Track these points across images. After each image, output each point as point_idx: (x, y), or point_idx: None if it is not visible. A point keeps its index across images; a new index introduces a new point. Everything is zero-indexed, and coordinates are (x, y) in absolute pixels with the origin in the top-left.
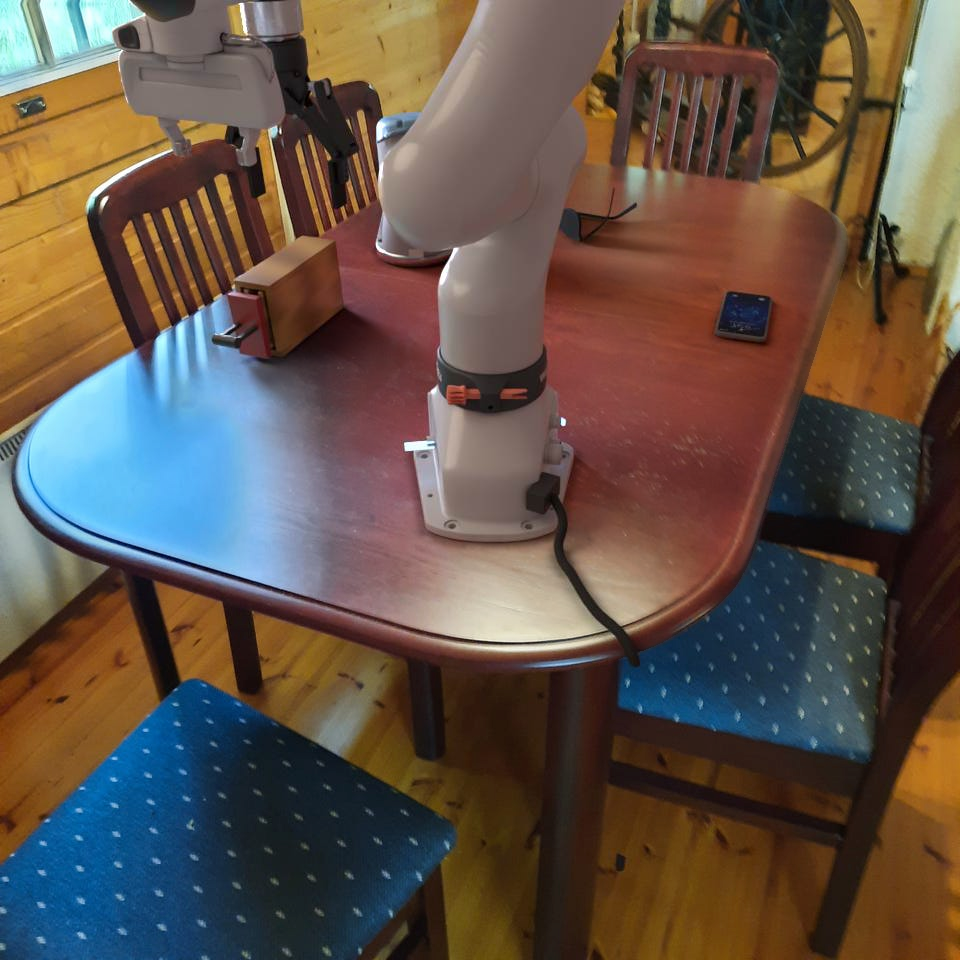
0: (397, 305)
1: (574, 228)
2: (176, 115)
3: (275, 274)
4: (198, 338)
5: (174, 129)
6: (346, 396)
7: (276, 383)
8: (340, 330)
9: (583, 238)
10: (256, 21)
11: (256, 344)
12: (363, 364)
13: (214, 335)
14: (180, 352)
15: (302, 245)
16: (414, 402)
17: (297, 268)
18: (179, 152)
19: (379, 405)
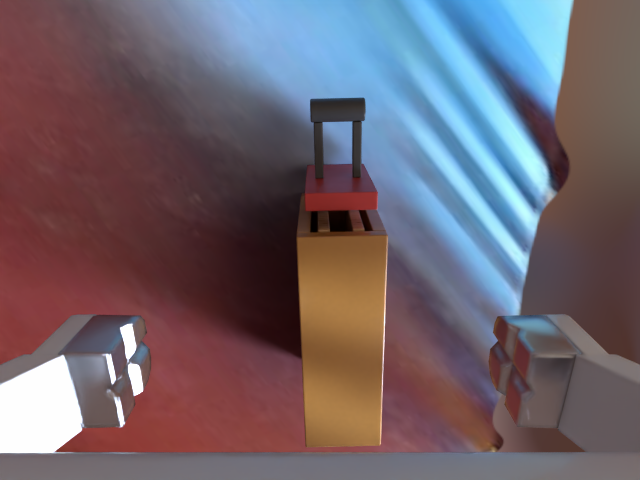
0: (235, 391)
1: None
2: (584, 473)
3: (319, 286)
4: (475, 196)
5: (635, 444)
6: (128, 124)
7: (258, 116)
8: (268, 299)
9: None
10: None
11: (324, 169)
12: (168, 221)
13: (361, 105)
14: (477, 144)
15: (352, 411)
16: (22, 149)
17: (300, 328)
18: (530, 321)
19: (63, 119)
